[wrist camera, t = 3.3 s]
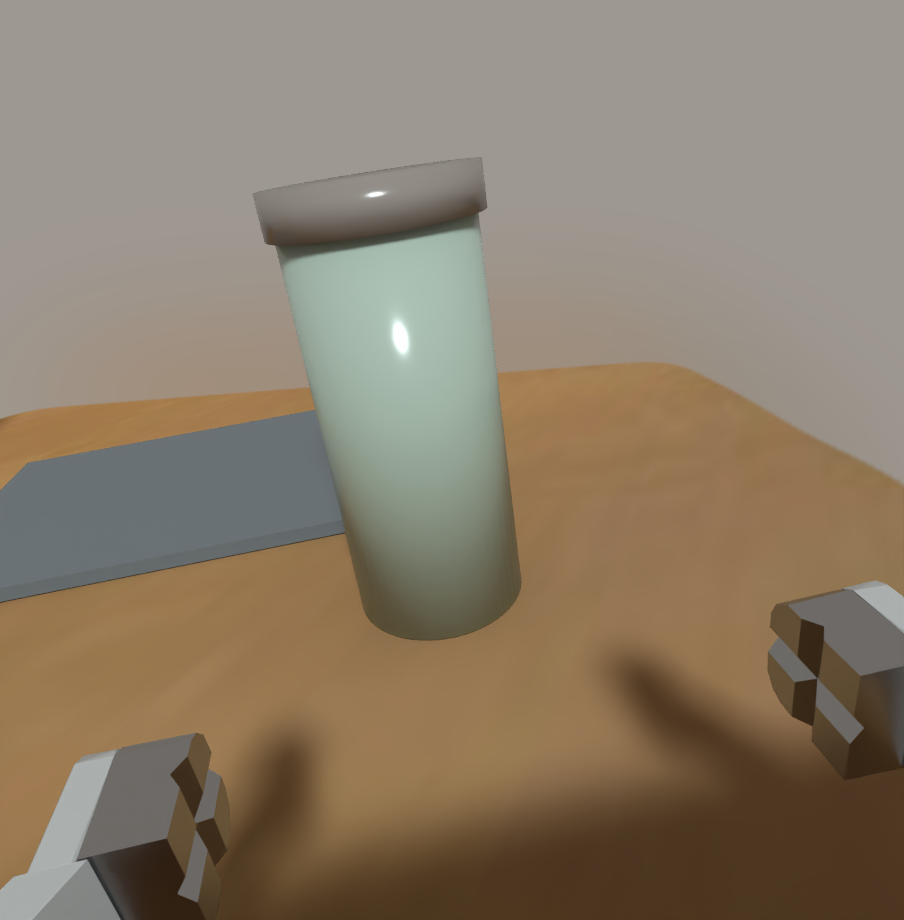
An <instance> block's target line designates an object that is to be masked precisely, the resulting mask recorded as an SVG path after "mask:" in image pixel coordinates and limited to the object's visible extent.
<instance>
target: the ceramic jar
mask: <svg viewBox="0 0 904 920" xmlns="http://www.w3.org/2000/svg"><path fill="white" fill-rule="evenodd" d="M253 197H254V201H255V205H256V209H257V213H258V217H259V221H260V225H261V230H262V233H263V238H264V242H265V243H266V244H268V245H275V246H276V250H277V254H278V258H279V262H280V266H281V270H282V274H283V278H284V283H285V287H286V291H287V295H288V299H289V303H290V307H291V311H292V316H293V319H294V324H295V328H296V332H297V336H298V340H299V344H300V349H301V353H302V357H303V361H304V365H305V369H306V373H307V377H308V382H309V386H310V390H311V394H312V398H313V402H314V406H315V410H316V414H317V419H318V423H319V427H320V431H321V435H322V439H323V443H324V447H325V452H326V456H327V460H328V464H329V468H330V472H331V476H332V480H333V485H334V489H335V493H336V497H337V501H338V505H339V509H340V513H341V517H342V522H343V526H344V530H345V534H346V538H347V542H348V546H349V550H350V555H351V559H352V563H353V567H354V571H355V575H356V579H357V583H358V588H359V592H360V596H361V600H362V604H363V608H364V611H365V613H366V615H367V617H368V618H369V620H370V621H371V622H372V623H373V624H374V625H375V626H377V627H378V628H380V629H381V630H383V631H385V632H387V633H389V634H391V635H394V636H398V637H401V638H406V639H413V640H439V639H447V638H453V637H457V636H461V635H465V634H468V633H470V632H473V631H476V630H478V629H480V628H482V627H484V626H487V625H488V624H490V623H492V622H493V621H495V620H496V619H498V618H499V617H500V616H502V615H503V614H504V613H505V612H506V611H507V610H508V609H509V608H510V607H511V606H512V604H513V603H514V602H515V600H516V598H517V597H518V595H519V592H520V589H521V573H520V564H519V556H518V547H517V539H516V530H515V521H514V513H513V504H512V496H511V487H510V479H509V470H508V462H507V453H506V444H505V436H504V427H503V419H502V410H501V402H500V393H499V385H498V376H497V368H496V360H495V350H494V342H493V333H492V325H491V317H490V309H489V300H488V291H487V282H486V273H485V265H484V257H483V248H482V240H481V231H480V223H479V215H478V213H479V212H481V211H483V210H485V209H486V208H487V202H486V192H485V183H484V175H483V166H482V158H481V157H477V158H466V159H456V160H448V161H440V162H433V163H427V164H426V163H425V164H419V165H411V166H404V167H398V168H391V169H384V170H378V171H371V172H365V173H359V174H353V175H347V176H340V177H334V178H328V179H323V180H317V181H311V182H305V183H299V184H294V185H289V186H283V187H278V188H273V189H269V190H264V191H260V192H256V193H253Z"/></svg>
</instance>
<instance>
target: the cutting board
mask: <svg viewBox="0 0 904 920" xmlns="http://www.w3.org/2000/svg"><path fill="white" fill-rule="evenodd" d="M340 533H345V530H344V526H343V522H342V517H341V513H340V509H339V505H338V501H337V497H336V493H335V489H334V485H333V480H332V476H331V472H330V468H329V464H328V460H327V456H326V452H325V447H324V443H323V439H322V435H321V431H320V427H319V423H318V419H317V414H316V410H312V411H306V412H301V413H296V414H290V415H285V416H279V417H274V418H268V419H263V420H258V421H252V422H247V423H241V424H236V425H231V426H225V427H220V428H214V429H209V430H203V431H198V432H193V433H187V434H182V435H176V436H171V437H165V438H160V439H155V440H149V441H144V442H138V443H133V444H128V445H122V446H117V447H111V448H106V449H100V450H95V451H90V452H84V453H79V454H73V455H68V456H63V457H57V458H52V459H46V460H41V461H35V462H30V463H27V464H26V465H25V466H24V467H23V468H22V469H21V470H20V471H19V472H18V473H17V474H16V475H15V476H14V477H13V478H12V479H11V480H10V481H9V482H8V483H7V484H6V485H5V486H4V487H3V488H2V489H1V490H0V602H3V601H8V600H13V599H18V598H23V597H28V596H33V595H37V594H42V593H47V592H52V591H57V590H62V589H67V588H72V587H77V586H82V585H87V584H92V583H97V582H102V581H107V580H112V579H117V578H122V577H127V576H132V575H137V574H142V573H147V572H152V571H157V570H162V569H167V568H171V567H176V566H181V565H186V564H191V563H196V562H201V561H206V560H211V559H216V558H221V557H226V556H231V555H236V554H241V553H246V552H251V551H256V550H261V549H266V548H271V547H276V546H281V545H286V544H291V543H296V542H301V541H306V540H310V539H315V538H320V537H325V536H330V535H335V534H340Z"/></svg>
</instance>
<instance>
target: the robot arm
mask: <svg viewBox="0 0 904 920" xmlns="http://www.w3.org/2000/svg"><path fill="white" fill-rule="evenodd" d="M770 628H771V629H772V630H773V631H774V632H775V633H776V634H777V635H778V636H779V637H778V639H777V640H776V641H775V643H774V644H773V645H772V647H771V648H770V649H769V651H768V673H769V677H770V680H771V684H772V687H773V690H774V692H775V693H776V695H777V697H778V699H779V701H780V703H781V704H782V705H783V706H784V708H785V709H786V710H787V711H788V713H789V714H790V715H791V716H792V717H794V718H796V719H798V720H800V721H802V722H804V723H806V724H808V725H810V726H812V742H813V743H814V744H815V746H816V747H817V748H818V749H819V750H820V752H821V753H822V754H823V755H824V756H825V758H826V759H827V760H828V761H829V762H830V764H831V765H832V766H833V767H834V768H835V770H836V771H837V772H838V773H839V774H840V776H841V777H842V778H843V779H844V780H848V779H853V778H858V777H862V776H867V775H872V774H876V773H881V772H886V771H890V770H895V769H899V768H904V597H903V596H901V595H900V594H899V593H898V592H896V591H895V590H894V589H892V588H891V587H890V586H888V585H887V584H885V583H882V582H878V581H871V582H867V583H863V584H859V585H854V586H850V587H846V588H842V589H841V590H835V591H831V592H826V593H822V594H818V595H813V596H809V597H805V598H800V599H796V600H792V601H787V602H783V603H779V604H776V605H775V607H774V609H773V611H772V612H771V621H770ZM210 757H211V750H210V748H209V746H208V744H207V742H206V739H205V737H204V735H202V734H199V733H193V734H188V735H183V736H178V737H173V738H168V739H163V740H158V741H152V742H147V743H142V744H137V745H132V746H127V747H122V748H121V749H117V750H112V751H106V752H101V753H96V754H91V755H85V756H83V757H82V758H81V759H80V760H79V761H78V762H77V763H76V764H75V765H74V766H73V768H72V771H71V773H70V775H69V777H68V780H67V782H66V784H65V787H64V789H63V791H62V794H61V796H60V798H59V800H58V803H57V805H56V807H55V810H54V812H53V814H52V817H51V819H50V821H49V823H48V826H47V828H46V830H45V833H44V835H43V837H42V840H41V842H40V844H39V846H38V849H37V851H36V853H35V856H34V858H33V860H32V863H31V865H30V867H29V869H28V872H27V873H26V874H22V875H19V876H15V877H13V878H12V879H11V880H10V881H9V882H8V883H7V884H6V885H5V886H4V887H3V888H2V889H1V890H0V920H216V918H217V912H218V906H219V900H220V893H221V887H222V882H221V880H220V878H219V875H218V873H217V871H216V868H215V866H216V865H217V863H218V862H219V861H220V859H221V858H222V857H223V855H224V854H225V853H226V851H227V848H228V841H229V834H230V810H229V802H228V797H227V792H226V788H225V786H224V783H223V780H222V778H221V776H220V775H218V774H216V773H215V772H213V771H211V770H209V769H208V767H209V762H210Z"/></svg>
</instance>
